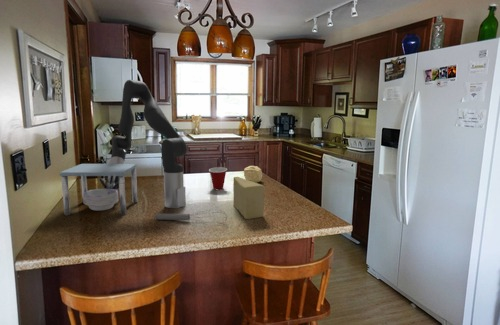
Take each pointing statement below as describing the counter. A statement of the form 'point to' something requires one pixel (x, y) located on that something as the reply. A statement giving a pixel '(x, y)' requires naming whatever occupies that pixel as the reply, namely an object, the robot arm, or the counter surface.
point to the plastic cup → (218, 177)
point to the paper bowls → (100, 199)
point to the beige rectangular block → (248, 198)
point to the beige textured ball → (253, 174)
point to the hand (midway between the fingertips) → (108, 195)
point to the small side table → (100, 170)
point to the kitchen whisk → (182, 216)
